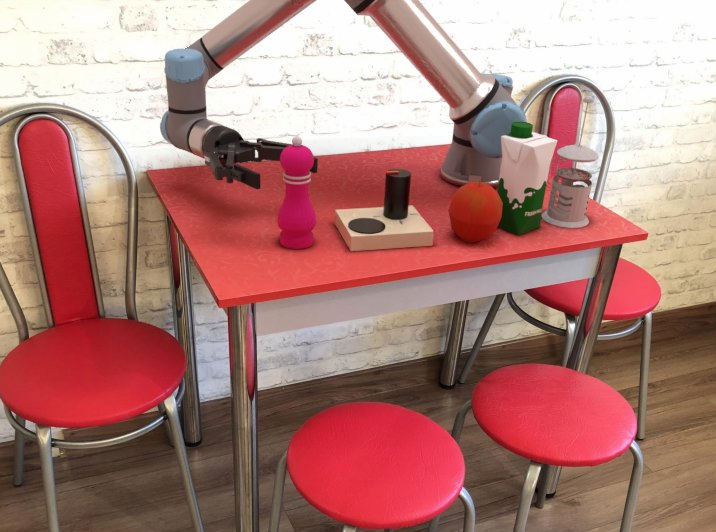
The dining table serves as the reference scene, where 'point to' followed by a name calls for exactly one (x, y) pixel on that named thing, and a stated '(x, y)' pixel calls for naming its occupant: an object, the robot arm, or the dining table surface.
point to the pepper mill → (296, 197)
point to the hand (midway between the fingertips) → (288, 173)
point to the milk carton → (523, 177)
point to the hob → (394, 236)
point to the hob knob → (397, 194)
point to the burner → (366, 225)
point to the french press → (571, 186)
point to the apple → (475, 211)
